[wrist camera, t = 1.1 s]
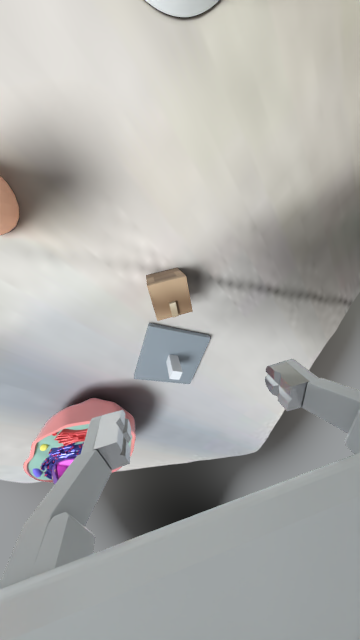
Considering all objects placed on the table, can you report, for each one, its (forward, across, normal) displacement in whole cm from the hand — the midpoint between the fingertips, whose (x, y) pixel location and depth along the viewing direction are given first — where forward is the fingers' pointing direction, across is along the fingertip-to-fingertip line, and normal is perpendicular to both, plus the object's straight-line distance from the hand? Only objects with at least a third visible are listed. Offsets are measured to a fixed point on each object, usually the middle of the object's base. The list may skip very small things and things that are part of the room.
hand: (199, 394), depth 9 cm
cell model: (+22, +20, +23) cm, 38 cm away
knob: (+21, -1, -1) cm, 21 cm away
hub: (+21, +1, +13) cm, 25 cm away
